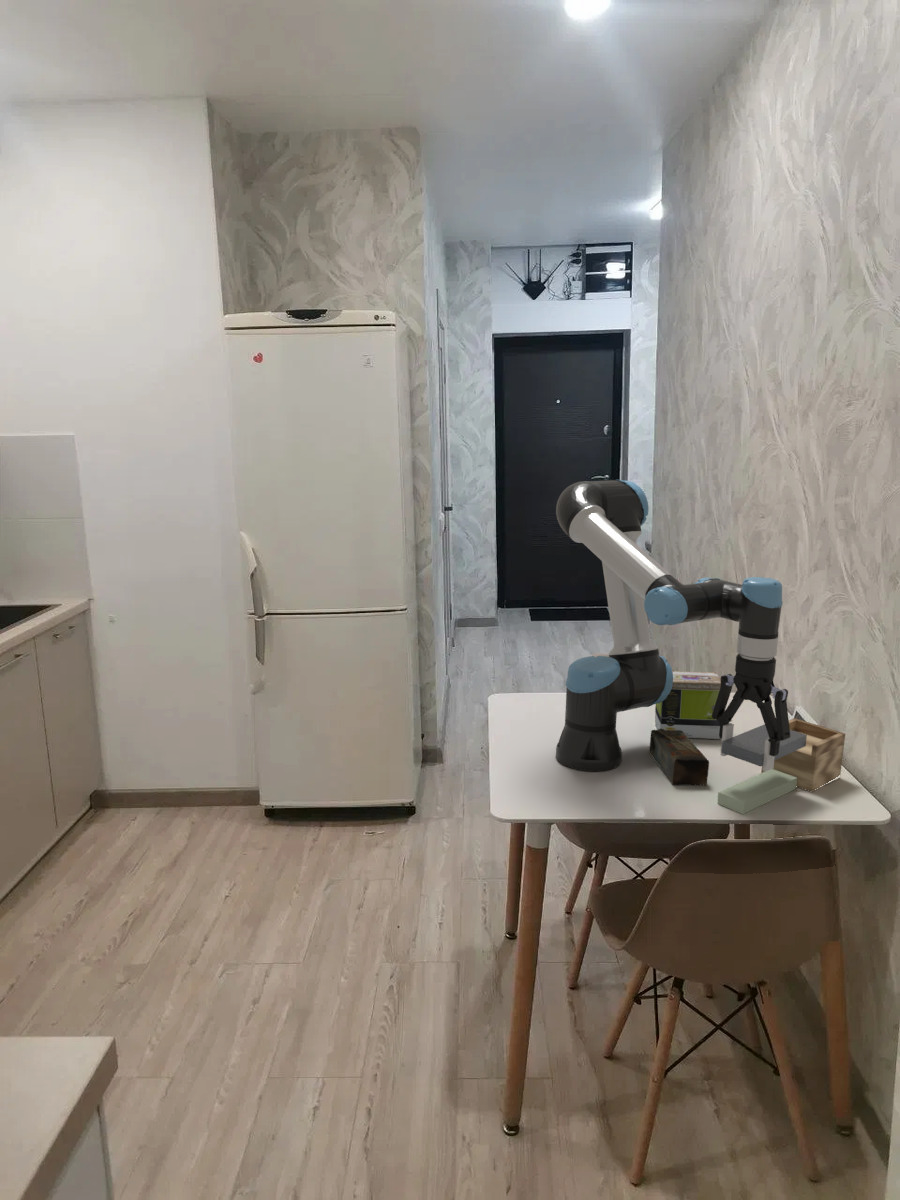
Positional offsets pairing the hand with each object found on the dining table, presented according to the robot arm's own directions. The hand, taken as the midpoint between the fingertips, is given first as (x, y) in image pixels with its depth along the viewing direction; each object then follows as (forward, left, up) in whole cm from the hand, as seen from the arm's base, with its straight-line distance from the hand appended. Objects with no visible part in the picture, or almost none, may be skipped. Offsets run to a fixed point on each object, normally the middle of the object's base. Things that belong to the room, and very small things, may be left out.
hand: (746, 761), depth 176 cm
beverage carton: (+4, +19, -10) cm, 22 cm away
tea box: (+25, +32, -9) cm, 42 cm away
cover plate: (+6, 0, +1) cm, 6 cm away
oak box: (+23, 0, -9) cm, 24 cm away
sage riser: (+6, 0, -9) cm, 11 cm away
